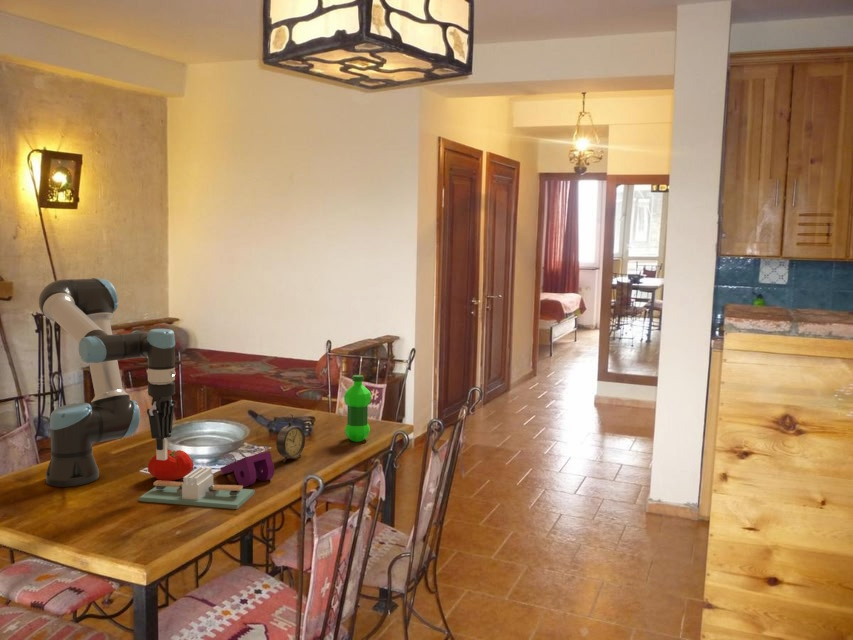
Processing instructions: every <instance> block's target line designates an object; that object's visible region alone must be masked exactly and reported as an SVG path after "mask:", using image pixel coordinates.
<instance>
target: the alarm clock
mask: <svg viewBox="0 0 853 640" xmlns="http://www.w3.org/2000/svg"><path fill="white" fill-rule="evenodd" d="M289 416H291V421H288V419H289ZM293 421H294V416H293V414H292V413H290V414H288V415H287V416H286V423H287V424H288V425H286V426H284V427H282V428H281V429H280V430H279V432H278V434H277V436H276V440H275V443H276V444H275V445H276V446H275V447H276V450H277V452H278V454H279V455H280V456H281V457H284V459H283V463H284V464H286V460H287V459H288V458H290V459H295V458H297V457H302V455H301V454H302V452H303V450H304V447H305V444H306V437H305V436H306V435H305V433H304V430H303V429H302V428H301V427H300V426H298V425H296V426H295V425H292V422H293Z"/></svg>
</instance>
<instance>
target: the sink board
mask: <svg viewBox="0 0 853 640" xmlns="http://www.w3.org/2000/svg"><path fill="white" fill-rule="evenodd" d="M212 469H213V468H212V467H208V468H207V467H202V466H198V467H197V468H195V469H194V470H192V471H191V473H189V474H188V475H186V476H185V477H183V478H182V480H183V482H184V483H183V484H182V488H179V487H167V486H156V485H155V486H154V487H152V489H150V490H148V491H147V492H145V493H144V494H141V496H139V498H138V499H139V500H138V501H139V502H144V503H145V502H146V503H159V504H170V505H171V504H172V505H183V506H194V507H206V508H219V509H220V508H221V509H231V510H238V509H239V508H240V507H242V505H244V504H245V503H246V502H247V501H248V500H250V498H251V497H253V496H254V495H255V489H250V488H242V489H241V490H240V491H231V490H212V491H210V490H209V489H208V488H209V487H210V486H211V485H213V484H214V473H213V471H212ZM212 473H213V474H212Z"/></svg>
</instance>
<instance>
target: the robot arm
mask: <svg viewBox="0 0 853 640" xmlns="http://www.w3.org/2000/svg"><path fill="white" fill-rule="evenodd" d="M118 302H119V298H118V293H117V290H116V288H115V286H114V284H112V282H111V281H109V280H108V279H106V278H105V279H104V278H79V279H78V278H76V279H74V278H73V279H72V278H71V279H64V278H63V279H58V280H57V279H56V280H55V281H52V282H50V283H48V284H47V285H46V286H45V287H44V288H43V289H42V291H40V294H39V296H38V308H39V309H40V312H41V313H42V314H43V316H45V317H46V318H47V319H48V320H49V321H53V322H56V324H58V325H59V326H60V327H61V329H63V330H64V331H65V332H66V333H67V334H68V335H69V336H70V337H71V338H72V339H73V340H74V341H75V342H76V343H77V344H78V353H79V356H80V359H81V360H82V361H83V362H84V363H88V364H89V365H88V366H89V369H90V375H91V382H92V386H93V390H94V397H93V399H92V400H91V403H88V402H77V403H74V402H73V403H69V404H66V405H65V404H64V405H62V406H59V407H57V408H55V409H54V410H52V412H51V414H50V417H49V418H50V420H49V425H48V426H49V431H50V452H51V453H50V454H51V455H50V456H51V458H50V460H49V464H48V466H47V470H46V473H45V484H46V485H48V486H51V487H57V488H68V487H70V488H71V487H77V486H82V485H87V484H91V483H93V482H95V481H97V480H98V479H99V477H100V470H99V467H98V465H97V462H96V459H95V457H94V454H93V444H96V443H101V442H106V441H107V442H108V441H113V440H117V439H123V438H128V437H130V436H133V435H134V434H135V433H137V430H138V428H139V425H140V422H141V411H140V406H139V404H138V402H137V401H136V400H133V399H131V398H130V394H129V393H127V392H126V391H125V390H124V387H123V383H122V376H121V372H120V367H119V362H118V361H120V360H122V361H123V360H130V359H138V358H139V359H140V358H144V359H147V382H148V383H147V394H148V396H149V397H151V398H152V400H151V407H150V408H147V409H146V414H147V416H148V421H149V429H150V436H151V438H152V439H155V440H156V442H155V445H156V447H155V448H156V450H155V451H156V454H155V455H156V460H166V459H167V450H168V438H171V437H172V435H171V434H172V430H173V423H174V422H173V420H174V411H175V406H176V403H177V401H176V400H173V399H172V396H174V395H175V394H176V382H175V380H176V376H175V375H176V374H177V373H176V367H175V366H176V340H175V339H176V337H175V332H174V330H173V329H170V328H153V329H149V330H148V331H145V330H133V331H132V332H129V333H117V334H113V331H112V326H111V325H112V324H111V320H112V319H113V317H114V313H115V312H116V311H117V309H118V306H119V303H118Z"/></svg>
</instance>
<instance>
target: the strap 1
mask: <svg viewBox="0 0 853 640" xmlns="http://www.w3.org/2000/svg"><path fill="white" fill-rule="evenodd" d="M183 483H184V481H175V480H173V481H163V480H159V479H157V480H155V481H154V482H153V486H155V487H156V486H167V487H179V488H182V484H183Z"/></svg>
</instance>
